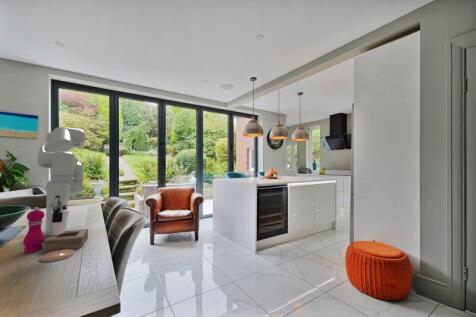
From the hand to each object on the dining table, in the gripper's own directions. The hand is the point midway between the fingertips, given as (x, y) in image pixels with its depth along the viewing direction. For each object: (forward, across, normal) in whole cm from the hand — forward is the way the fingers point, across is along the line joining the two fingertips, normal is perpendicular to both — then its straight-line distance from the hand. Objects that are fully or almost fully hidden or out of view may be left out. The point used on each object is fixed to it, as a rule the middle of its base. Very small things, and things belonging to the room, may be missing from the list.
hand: (59, 220), depth 91 cm
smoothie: (+6, 0, 0) cm, 6 cm away
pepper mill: (+16, -14, -12) cm, 24 cm away
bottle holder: (+15, -16, 0) cm, 22 cm away
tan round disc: (+16, 0, 0) cm, 16 cm away
